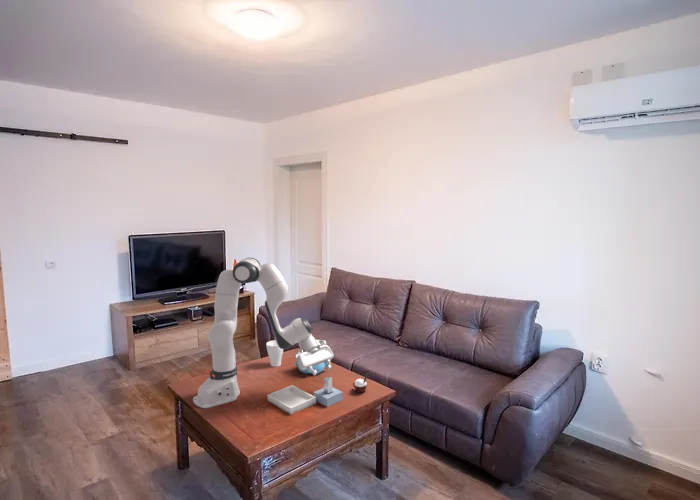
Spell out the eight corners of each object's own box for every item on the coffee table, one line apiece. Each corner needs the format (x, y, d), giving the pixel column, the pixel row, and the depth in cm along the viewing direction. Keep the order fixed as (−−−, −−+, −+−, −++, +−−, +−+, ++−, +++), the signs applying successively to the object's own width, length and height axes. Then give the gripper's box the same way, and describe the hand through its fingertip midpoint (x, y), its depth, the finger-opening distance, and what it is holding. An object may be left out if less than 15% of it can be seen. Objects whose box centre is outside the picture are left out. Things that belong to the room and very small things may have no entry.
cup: (276, 369, 235) (275, 347, 234) (263, 365, 241) (262, 343, 240) (288, 363, 244) (287, 342, 243) (275, 360, 250) (274, 339, 248)
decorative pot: (318, 363, 245) (317, 341, 244) (331, 372, 232) (331, 349, 230) (293, 369, 237) (292, 346, 235) (305, 378, 223) (305, 354, 222)
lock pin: (327, 401, 197) (327, 380, 196) (323, 399, 199) (323, 378, 198) (332, 399, 199) (332, 378, 198) (328, 397, 201) (328, 376, 200)
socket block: (327, 406, 192) (327, 398, 191) (313, 399, 199) (313, 392, 198) (342, 399, 199) (342, 391, 198) (329, 393, 206) (328, 385, 205)
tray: (290, 414, 185) (290, 408, 185) (267, 400, 198) (267, 394, 198) (316, 403, 195) (316, 397, 195) (292, 390, 209) (292, 385, 208)
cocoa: (351, 390, 210) (349, 367, 209) (361, 386, 213) (360, 364, 212) (361, 396, 202) (360, 373, 201) (371, 392, 205) (370, 370, 204)
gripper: (296, 349, 197) (309, 374, 191) (327, 339, 211) (340, 362, 206) (290, 356, 201) (303, 381, 195) (322, 345, 215) (334, 368, 209)
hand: (323, 371), depth 200 cm, fingers open, 8 cm apart
